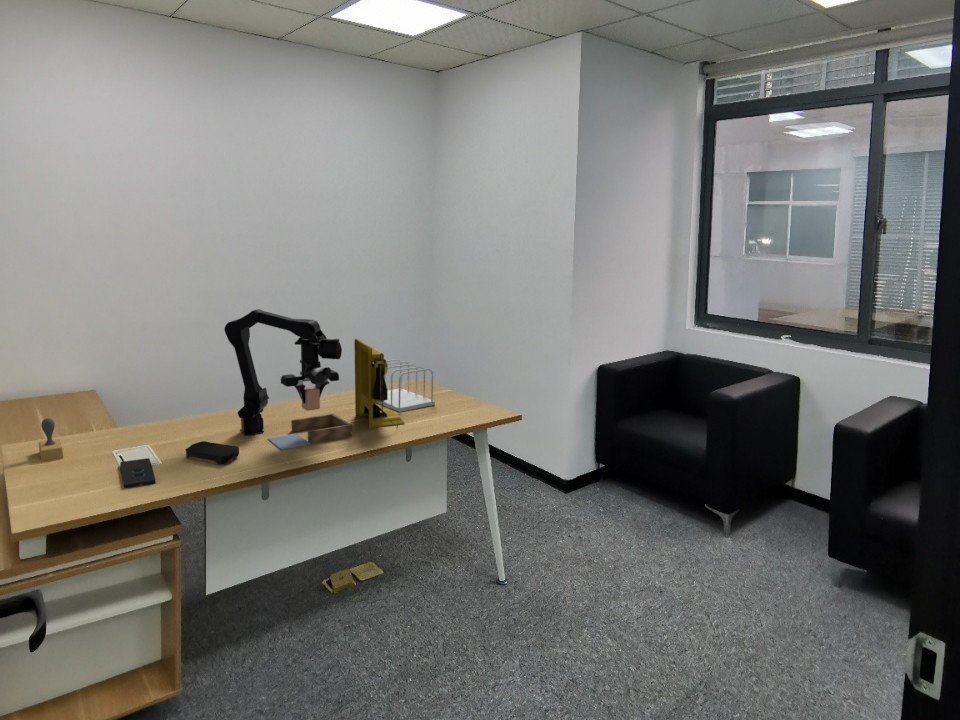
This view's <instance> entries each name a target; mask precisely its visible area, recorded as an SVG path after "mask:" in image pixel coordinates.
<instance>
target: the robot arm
mask: <svg viewBox="0 0 960 720" xmlns="http://www.w3.org/2000/svg"><path fill="white" fill-rule="evenodd" d="M256 324H262V325H265V326H270V327H274V328H278V329H280V330H281V329H282V330H285V331H288V332H291V333H292V334H294V335H295V336H297V337H298V338H297V340H296V341H295V342H294V345H299V346H300V359H299V363H300V365H301V369H300V370H301V371H299V376H296V375H295V374H293V373H291V374H283V375H282V376H281V377H280V384H282V385H283V386H285V387H287V388H288V387H294V388H295V389H296V391H297V394H298V396H299V397H300V400H301V403H302V402H303V404H305V390H304V389H305V387H306V385H305V384H304V382H309V381H310V383H311V384H312V385H314V386H315V387H317V388H318V389H320V397H321V395H322V393H323V390H324V388H325V387H326V386H327V385H329V384H330V382H337V381H339V380H340V374H339V373H338V372H337V371H335V370H333V369H331V368H330V367H329V366H328V367H322V366H321V361H320V360H319V357H320V358H321V359H324V360H325V359H326V360H340V359H341V357H342V353H343V352H342V351H343V350H342V344H341V342H340V339H339V338H327V337H326V335H325V334H324V332H323V330H322V328H321V325H320V324H319V322H318V321H317V320H315V319H307V318H292V317H289V316H284V315H280V314H276V313H272V312H269V311H265V310H262V309H260V308H259V309H258V308H257V309H254V310H251V311H250V312H249V313H248V314H245V315H244V316H242V317H240V318H237V319H234V320H231V321H229V322H227V323H226V325H225V326H224V330H223V331H224V333H225V335H226V338H227V340H228V342H229V343H230V344H231V346H232V347H233V348H234V351H235V355H236V360H237V363H238V366H239V371H240V374H241V379H242V382H243V387H244V391H243V406H241V408H240V409H239V410H238V411H237V415H238V418H239V419H240V425H241V427H240V428H241V429H239V432H241V433H242V434H243V435H244V436H250V435H257V434H263V433H264V432H265V431H264V429H265V426H264V417H262V414H261V413H263V411H264V408H265V407H267V406H268V403H269V399H270V397H269V395H268V390H267V389H268V388H267V387H261V384H260V383H259V380H258V377H257V372H256V369H255V364H254V361H253V357H252V353H251V349H250V338H251V337H250V336H251V334H250V331H251V330H250V328H252V327H253V326H255V325H256ZM328 380H329V381H328Z"/></svg>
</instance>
